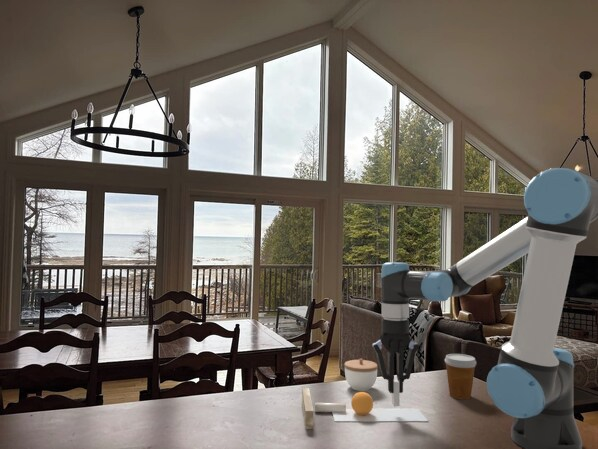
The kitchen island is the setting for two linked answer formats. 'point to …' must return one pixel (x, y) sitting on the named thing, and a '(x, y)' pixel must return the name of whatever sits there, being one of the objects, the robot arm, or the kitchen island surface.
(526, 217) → the robot arm
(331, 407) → the pin
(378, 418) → the plate
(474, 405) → the kitchen island surface
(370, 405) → the ball
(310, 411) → the backstop
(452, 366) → the disposable coffee cup
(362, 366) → the lidded jar
